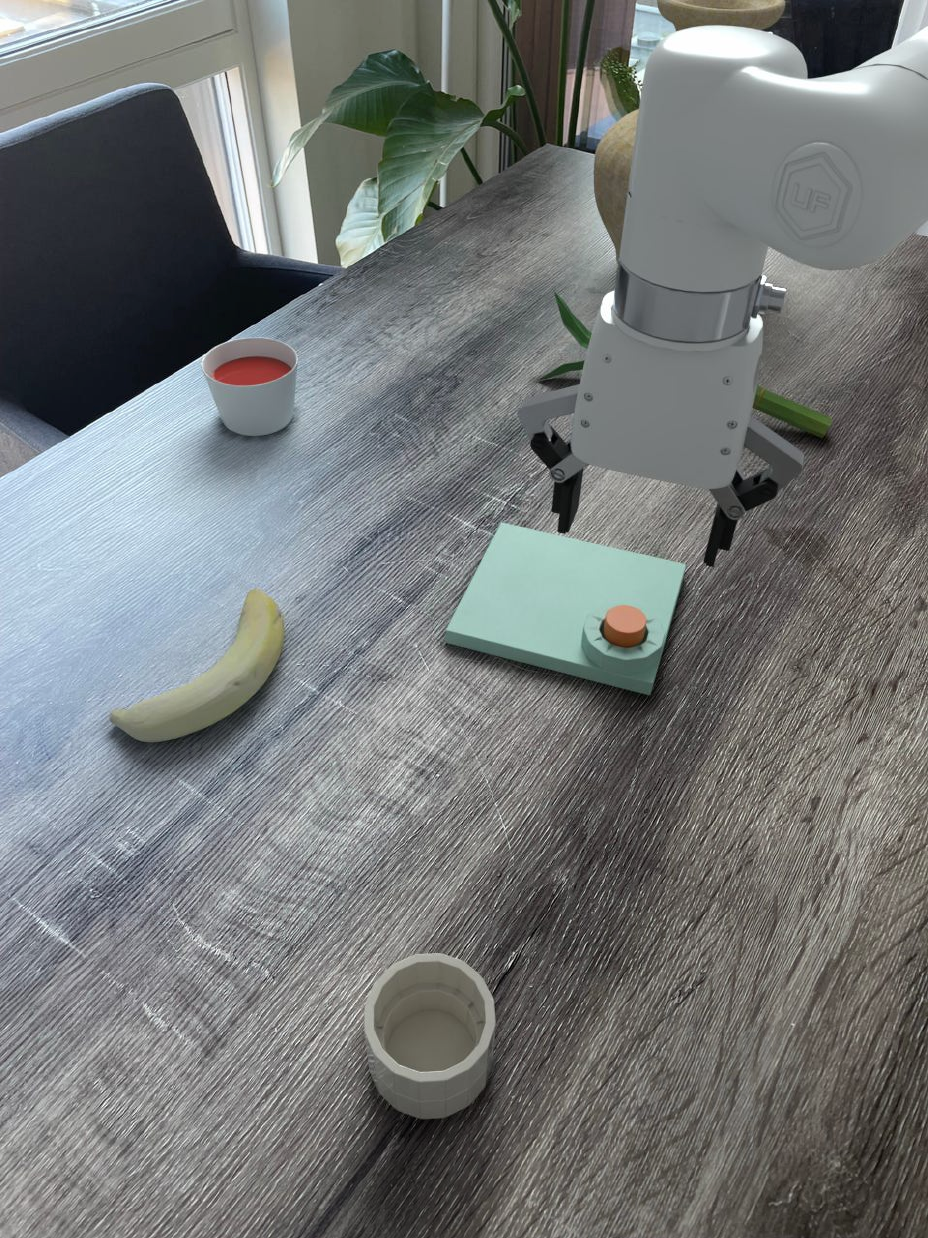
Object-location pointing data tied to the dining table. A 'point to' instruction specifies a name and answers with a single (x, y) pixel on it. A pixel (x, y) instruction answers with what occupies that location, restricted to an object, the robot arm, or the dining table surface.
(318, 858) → the dining table surface
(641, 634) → the power button
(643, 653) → the scale
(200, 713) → the fruit
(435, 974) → the white cup
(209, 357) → the candle
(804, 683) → the dining table surface
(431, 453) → the dining table surface
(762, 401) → the decorative plant
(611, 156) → the vase
